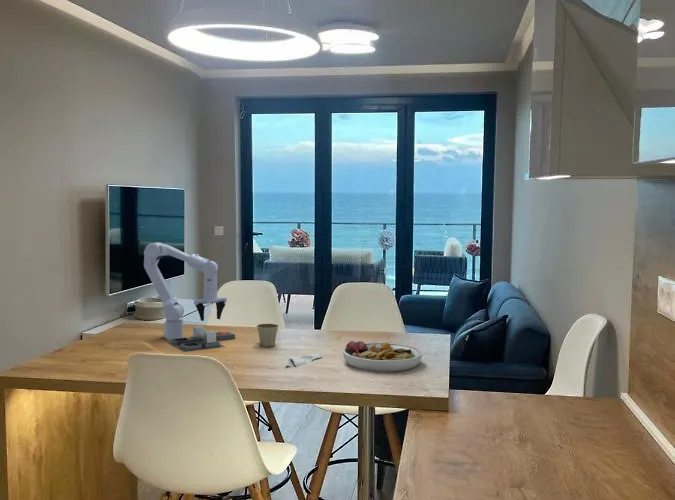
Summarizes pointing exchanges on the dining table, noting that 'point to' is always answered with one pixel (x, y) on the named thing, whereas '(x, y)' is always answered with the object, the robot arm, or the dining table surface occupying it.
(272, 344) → the flower pot
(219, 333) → the button
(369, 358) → the bowl
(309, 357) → the cloth
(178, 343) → the pallet
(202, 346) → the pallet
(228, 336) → the box
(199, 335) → the billet
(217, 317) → the robot arm
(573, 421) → the dining table surface
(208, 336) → the billet
